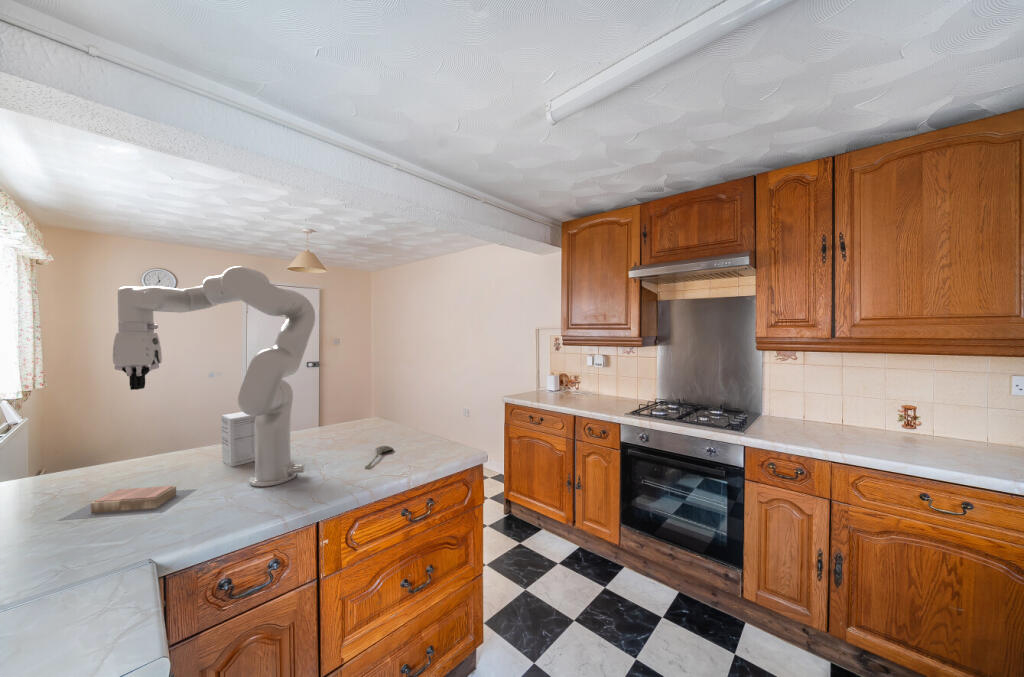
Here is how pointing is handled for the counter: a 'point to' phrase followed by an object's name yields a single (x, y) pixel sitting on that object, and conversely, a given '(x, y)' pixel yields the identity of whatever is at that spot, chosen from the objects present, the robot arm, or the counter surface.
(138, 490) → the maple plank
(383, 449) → the soupspoon
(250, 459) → the supplement box
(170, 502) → the rubber mat
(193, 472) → the counter surface
